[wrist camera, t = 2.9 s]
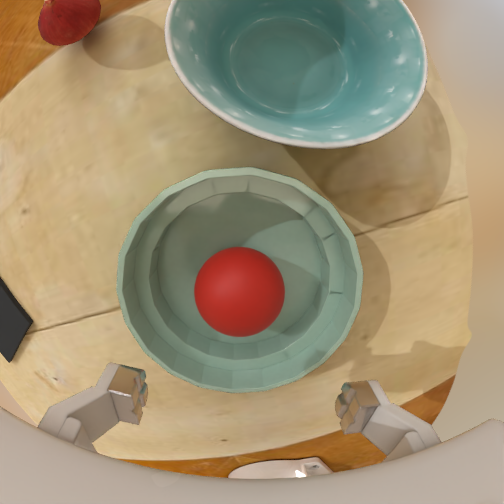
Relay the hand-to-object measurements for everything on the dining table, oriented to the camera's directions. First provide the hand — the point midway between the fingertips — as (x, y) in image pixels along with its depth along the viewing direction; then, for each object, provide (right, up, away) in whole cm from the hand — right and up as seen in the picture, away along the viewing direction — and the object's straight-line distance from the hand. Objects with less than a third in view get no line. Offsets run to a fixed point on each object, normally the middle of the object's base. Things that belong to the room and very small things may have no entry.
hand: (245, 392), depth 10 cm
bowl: (+3, +21, +8) cm, 22 cm away
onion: (-16, +27, +6) cm, 31 cm away
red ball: (-1, +4, +13) cm, 13 cm away
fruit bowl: (-1, +4, +13) cm, 14 cm away
